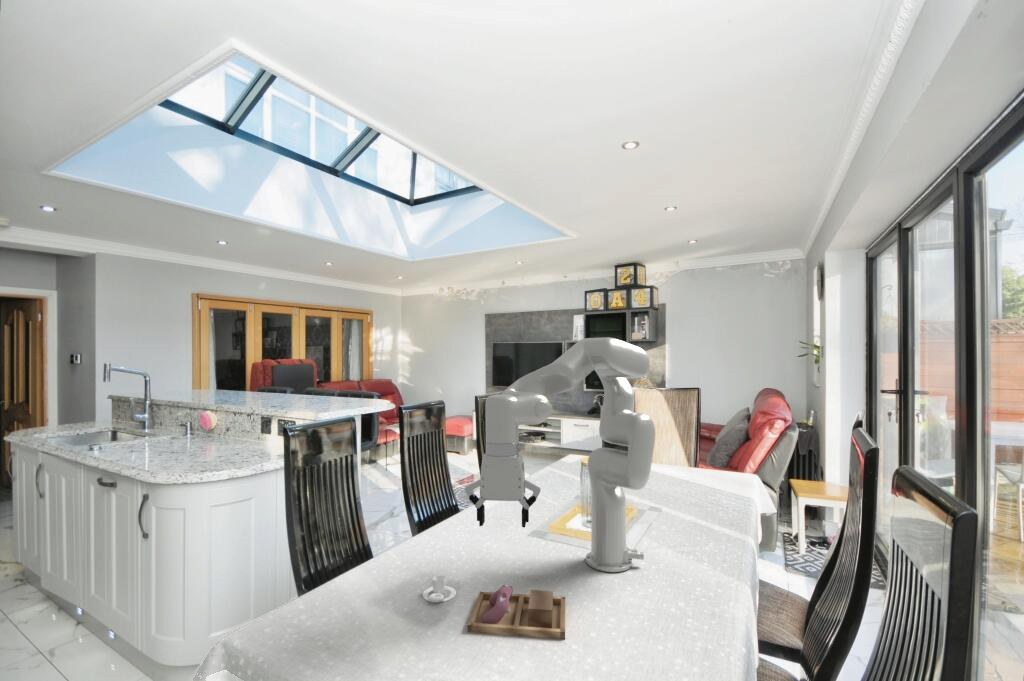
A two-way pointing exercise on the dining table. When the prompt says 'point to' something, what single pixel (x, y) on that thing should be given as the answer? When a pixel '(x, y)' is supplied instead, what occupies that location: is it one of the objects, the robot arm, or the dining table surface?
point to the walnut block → (540, 609)
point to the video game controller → (498, 605)
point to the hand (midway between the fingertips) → (502, 524)
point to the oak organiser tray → (517, 618)
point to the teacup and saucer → (438, 590)
